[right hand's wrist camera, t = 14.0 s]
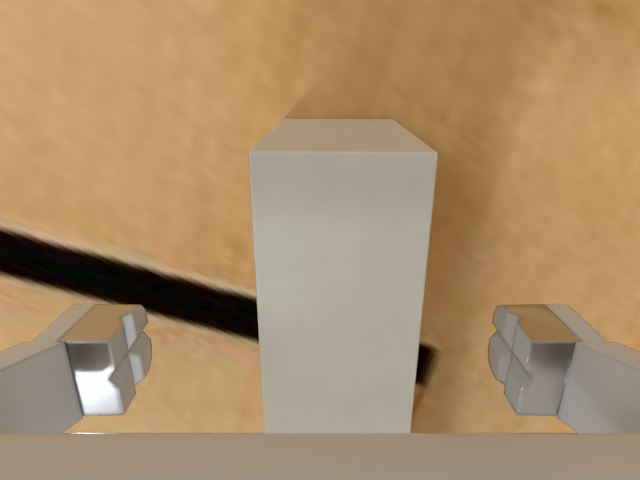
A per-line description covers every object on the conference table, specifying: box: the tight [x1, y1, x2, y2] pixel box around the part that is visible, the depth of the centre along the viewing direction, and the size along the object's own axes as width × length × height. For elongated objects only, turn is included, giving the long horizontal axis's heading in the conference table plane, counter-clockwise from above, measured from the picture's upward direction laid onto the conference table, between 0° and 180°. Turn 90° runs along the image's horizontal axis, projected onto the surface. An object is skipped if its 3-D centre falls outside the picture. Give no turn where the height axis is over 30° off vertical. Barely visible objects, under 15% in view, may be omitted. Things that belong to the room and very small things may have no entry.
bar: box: [249, 118, 438, 433], centre depth 19 cm, size 24×5×8 cm, turn 0°
